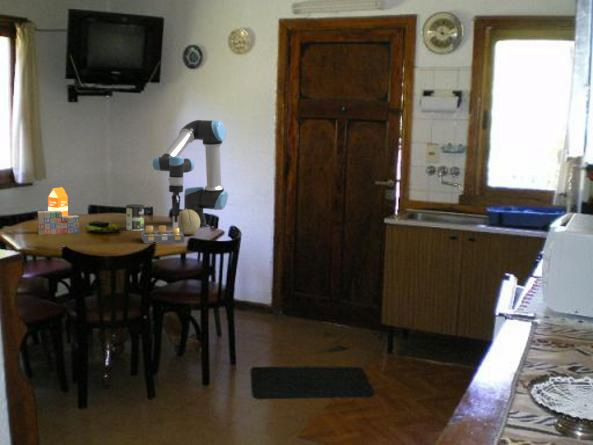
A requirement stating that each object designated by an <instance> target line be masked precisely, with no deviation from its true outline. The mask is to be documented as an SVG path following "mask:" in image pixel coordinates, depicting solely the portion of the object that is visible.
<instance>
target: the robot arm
mask: <svg viewBox="0 0 593 445" xmlns="http://www.w3.org/2000/svg"><path fill="white" fill-rule="evenodd" d="M226 133H227V132H226V128H225V125H224V123H223V122H222V121H219V120H210V119H209V120H208V119H206V120H201V119H195V120H193V121H190V122H189V123H187V124H185V125H184V126H183V127H182V128H181V129H180V130H179V132H178V135H177V137H176V138H175V139H174V140H173V142H172V143H171V144H170V145H169V147H168V148H167V149H166V150H165V152H164V153H163V154H162V155H161V156H155V157H154V158H153V159H152V167H153V170H154V171H155V170H156V171H158V172H159V171H160V172H169V173H168V175H169V176H168V179H167V181H168V184H169V185H168V192H170V193H172V195H171V213H172V228H178V216H179V212H180V206H181V196H180V193H183V192H184V194H183V202H184V205H183V206H184V208H186V209H189V210H193V211H195V212H196V213H197V214H198V216H199V218H200V227H203V226H206V225H207V219H206V217H205V214H204V209H206V210H215V211H217V210H219V211H220V210H221V211H222V210H224V209H225V207H226V206H227V204H228V203H227V202H228V196H229V195H228V192H227V191H226V190H224V188H225V187H224V186H223V185H222V174H221V173H222V172H221V170H222V168H221V145H222V144H223V141H225V139H226V136H227V134H226ZM197 140H201V141H202V145H203V146H205V148H204V149H205V171H206V185H205V187H204V186H195V187H194V186H192V187H186V188H185V189H184V173H190V172H192V171H193V170H194V168H195V163H194V161H193V160H192V159H191V158H184V156H181V154H182V153H183V152H184V150H185V149H186V148H187V147H188V146H189V144H191V143H192V142H194V141H197ZM184 208H183V210H185V209H184Z"/></svg>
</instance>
